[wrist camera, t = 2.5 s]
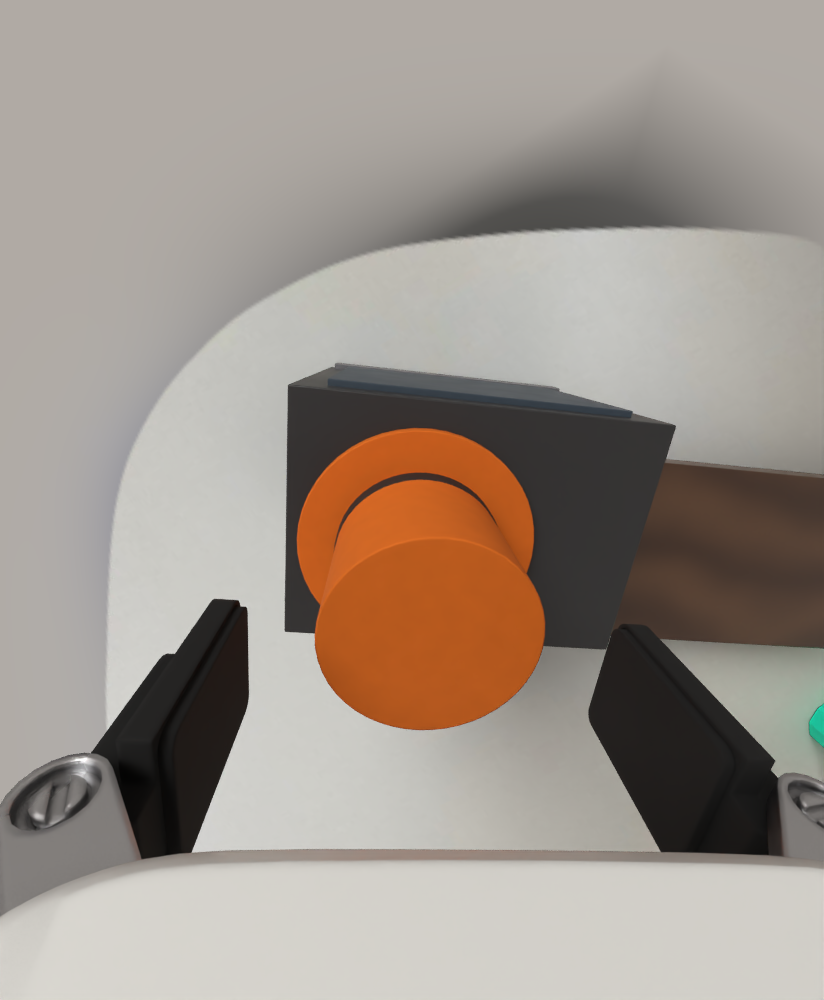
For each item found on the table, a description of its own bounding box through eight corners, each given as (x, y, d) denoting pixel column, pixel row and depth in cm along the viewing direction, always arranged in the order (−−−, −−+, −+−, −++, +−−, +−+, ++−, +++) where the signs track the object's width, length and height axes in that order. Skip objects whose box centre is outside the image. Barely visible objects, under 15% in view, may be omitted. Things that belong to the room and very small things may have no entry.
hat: (302, 415, 15) (250, 458, 9) (552, 440, 16) (646, 494, 10) (296, 632, 18) (255, 765, 12) (507, 644, 19) (560, 774, 13)
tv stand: (604, 444, 28) (637, 460, 25) (876, 471, 30) (946, 490, 26) (563, 601, 32) (586, 635, 29) (806, 617, 34) (857, 651, 30)
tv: (330, 361, 26) (287, 375, 14) (556, 387, 27) (679, 417, 16) (323, 521, 29) (284, 632, 18) (524, 536, 30) (606, 650, 19)
